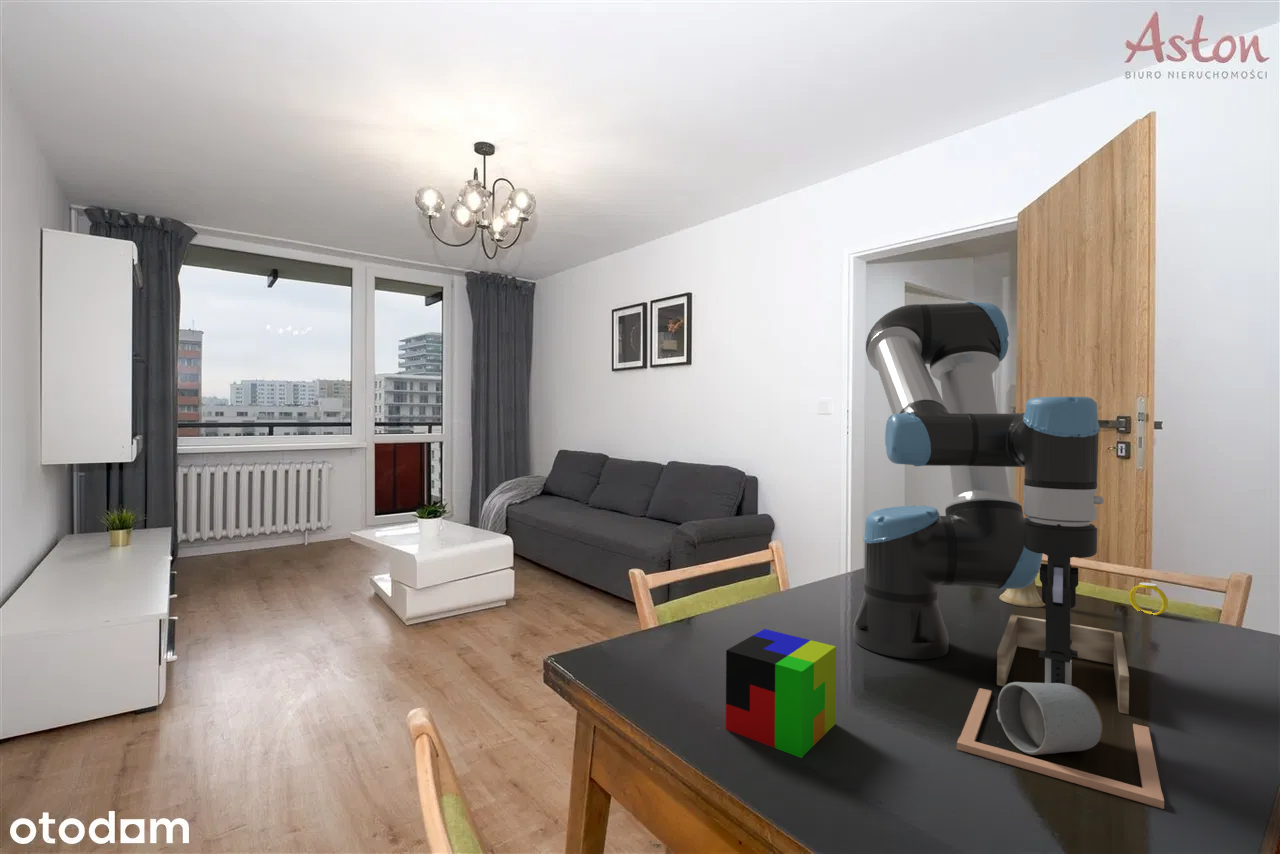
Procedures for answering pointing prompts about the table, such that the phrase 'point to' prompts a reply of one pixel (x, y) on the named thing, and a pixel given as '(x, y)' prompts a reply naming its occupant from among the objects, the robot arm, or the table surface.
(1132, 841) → the table surface
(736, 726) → the puzzle toy
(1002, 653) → the frame
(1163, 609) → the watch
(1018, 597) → the hand bell
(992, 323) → the robot arm
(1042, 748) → the ceramic mug
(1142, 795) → the terracotta bay
